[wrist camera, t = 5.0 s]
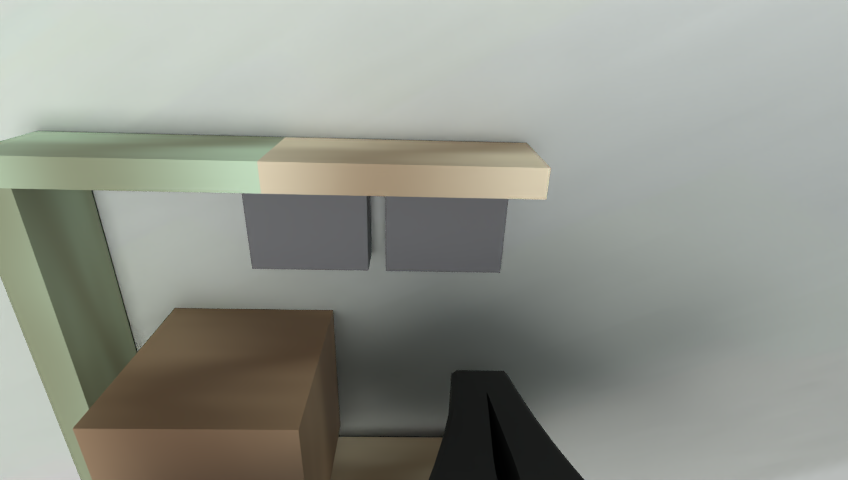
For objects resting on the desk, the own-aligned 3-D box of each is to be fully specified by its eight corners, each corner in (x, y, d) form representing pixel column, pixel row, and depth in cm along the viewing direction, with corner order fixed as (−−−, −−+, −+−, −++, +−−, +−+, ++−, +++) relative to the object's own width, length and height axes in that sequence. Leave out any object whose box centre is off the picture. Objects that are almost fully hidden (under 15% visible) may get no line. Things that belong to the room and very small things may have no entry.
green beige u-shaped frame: (526, 142, 10) (550, 167, 8) (489, 452, 14) (500, 514, 12) (36, 131, 10) (-48, 154, 8) (136, 450, 14) (94, 514, 12)
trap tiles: (502, 177, 11) (509, 188, 10) (494, 256, 11) (500, 272, 11) (252, 172, 10) (240, 183, 10) (262, 253, 11) (252, 268, 11)
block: (333, 308, 12) (298, 430, 8) (340, 424, 14) (313, 567, 10) (176, 306, 12) (72, 428, 8) (202, 423, 14) (125, 567, 10)
